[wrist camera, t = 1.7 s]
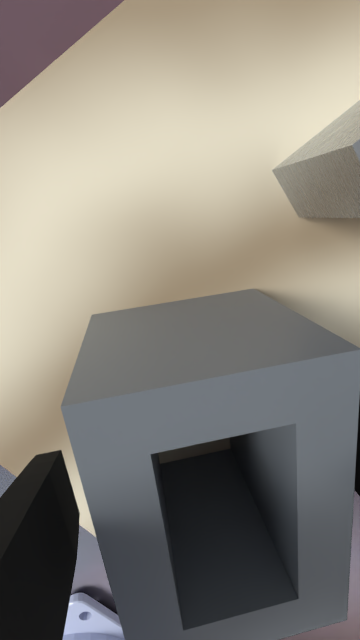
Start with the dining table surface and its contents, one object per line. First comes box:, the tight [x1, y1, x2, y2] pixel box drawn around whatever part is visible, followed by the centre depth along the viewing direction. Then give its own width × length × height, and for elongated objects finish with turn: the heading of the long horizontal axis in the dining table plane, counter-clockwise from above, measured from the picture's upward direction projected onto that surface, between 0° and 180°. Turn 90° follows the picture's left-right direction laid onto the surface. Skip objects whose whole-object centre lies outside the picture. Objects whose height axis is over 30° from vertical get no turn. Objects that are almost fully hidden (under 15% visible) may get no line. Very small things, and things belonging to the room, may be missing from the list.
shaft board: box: [0, 0, 360, 537], centre depth 11 cm, size 15×20×1 cm
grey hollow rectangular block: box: [61, 288, 360, 640], centre depth 9 cm, size 5×7×5 cm
